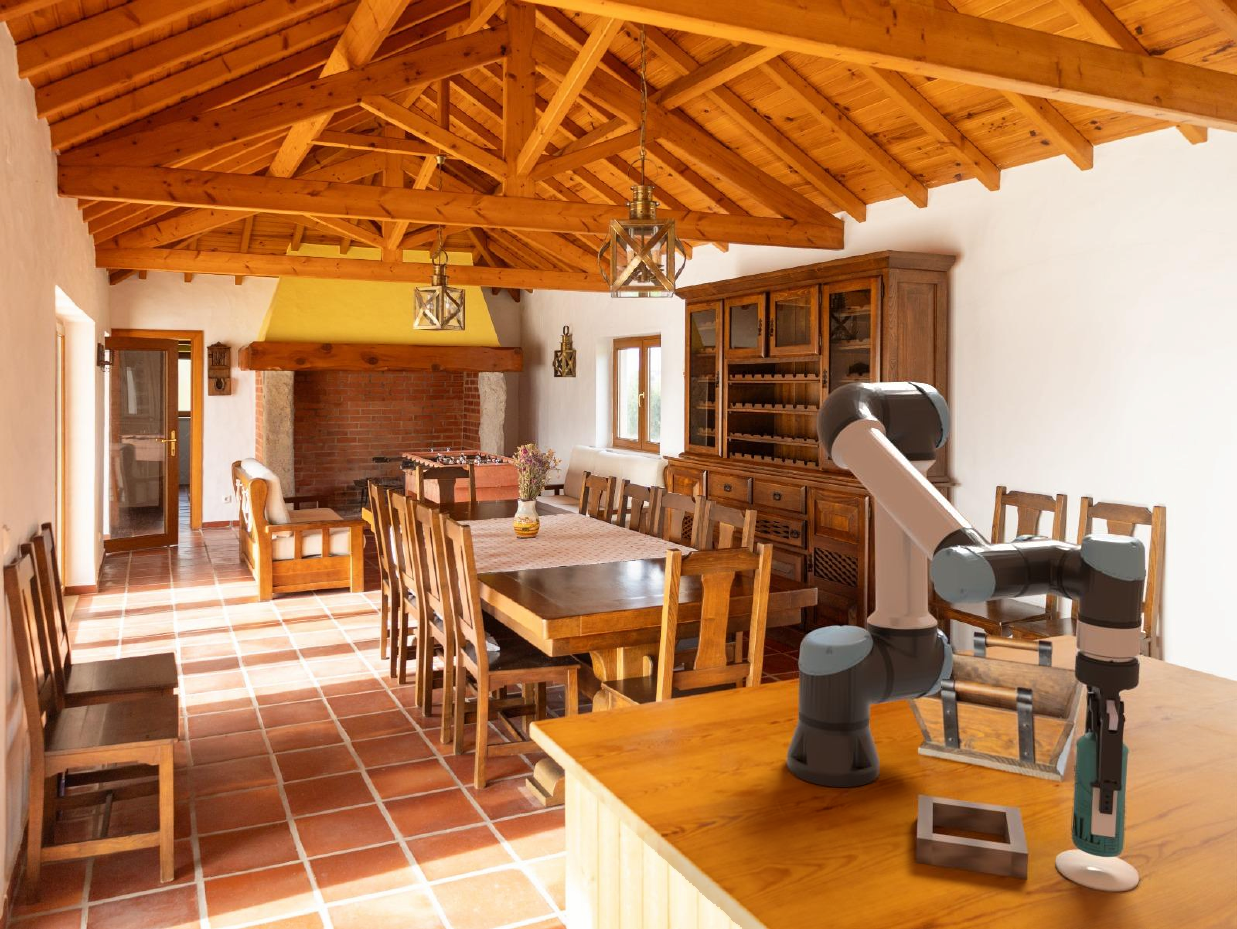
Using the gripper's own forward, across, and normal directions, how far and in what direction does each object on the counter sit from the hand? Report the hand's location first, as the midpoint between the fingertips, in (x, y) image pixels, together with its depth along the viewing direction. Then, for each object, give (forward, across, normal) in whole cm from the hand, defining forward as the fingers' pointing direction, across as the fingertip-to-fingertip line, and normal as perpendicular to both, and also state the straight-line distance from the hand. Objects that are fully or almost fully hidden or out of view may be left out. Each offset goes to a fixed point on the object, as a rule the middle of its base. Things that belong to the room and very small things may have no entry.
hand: (1098, 821), depth 129 cm
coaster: (+7, 0, 0) cm, 7 cm away
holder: (+7, +2, +16) cm, 17 cm away
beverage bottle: (+5, 0, 0) cm, 5 cm away
